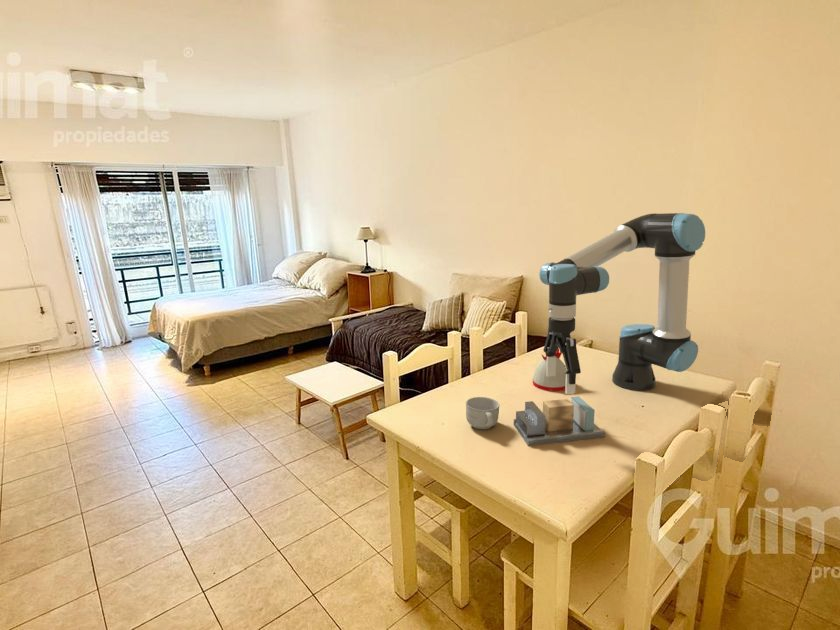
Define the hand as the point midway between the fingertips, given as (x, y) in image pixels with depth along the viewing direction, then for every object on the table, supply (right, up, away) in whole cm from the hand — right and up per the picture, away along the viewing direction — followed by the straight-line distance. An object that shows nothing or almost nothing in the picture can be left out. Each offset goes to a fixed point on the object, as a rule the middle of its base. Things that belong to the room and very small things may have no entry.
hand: (560, 384), depth 133 cm
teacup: (-22, -16, +8) cm, 28 cm away
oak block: (0, -14, +3) cm, 14 cm away
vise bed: (0, -15, +4) cm, 16 cm away
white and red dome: (+9, -6, +39) cm, 40 cm away
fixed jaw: (-9, -14, +2) cm, 17 cm away
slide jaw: (+8, -13, +4) cm, 16 cm away
